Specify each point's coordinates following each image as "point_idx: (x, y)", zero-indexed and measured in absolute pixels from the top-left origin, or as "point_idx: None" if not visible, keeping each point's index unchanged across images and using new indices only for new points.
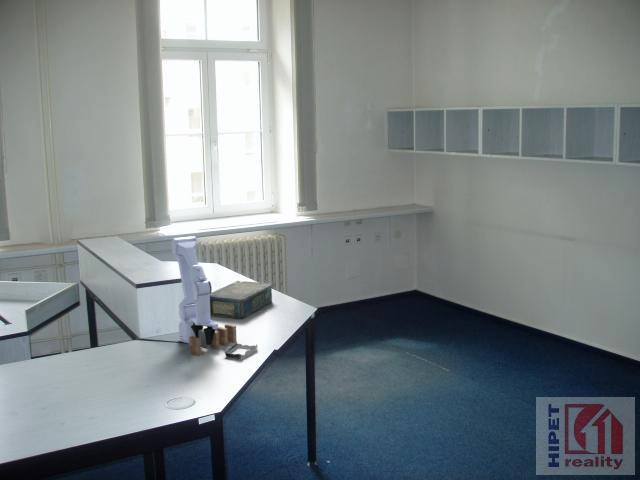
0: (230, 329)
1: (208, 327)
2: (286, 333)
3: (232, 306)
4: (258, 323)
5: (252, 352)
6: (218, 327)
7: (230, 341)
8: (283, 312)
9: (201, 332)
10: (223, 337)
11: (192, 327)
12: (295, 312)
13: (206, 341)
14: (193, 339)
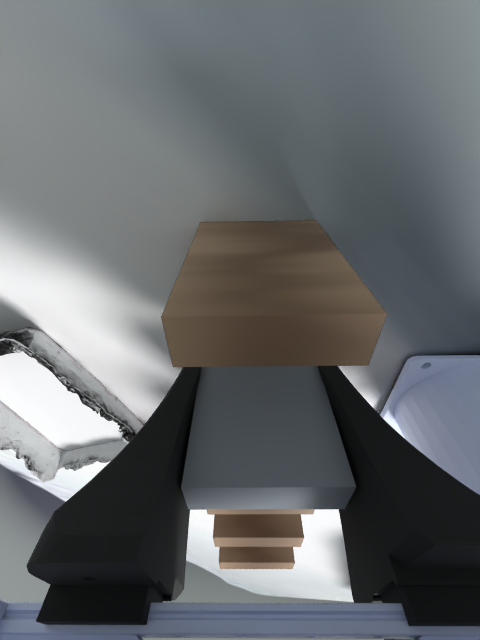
0: None
1: (111, 602)
2: None
3: None
4: (300, 547)
5: (34, 430)
6: (289, 541)
7: None
8: (299, 580)
9: (284, 466)
10: None
11: (459, 524)
12: (273, 584)
13: (190, 379)
14: (266, 302)
